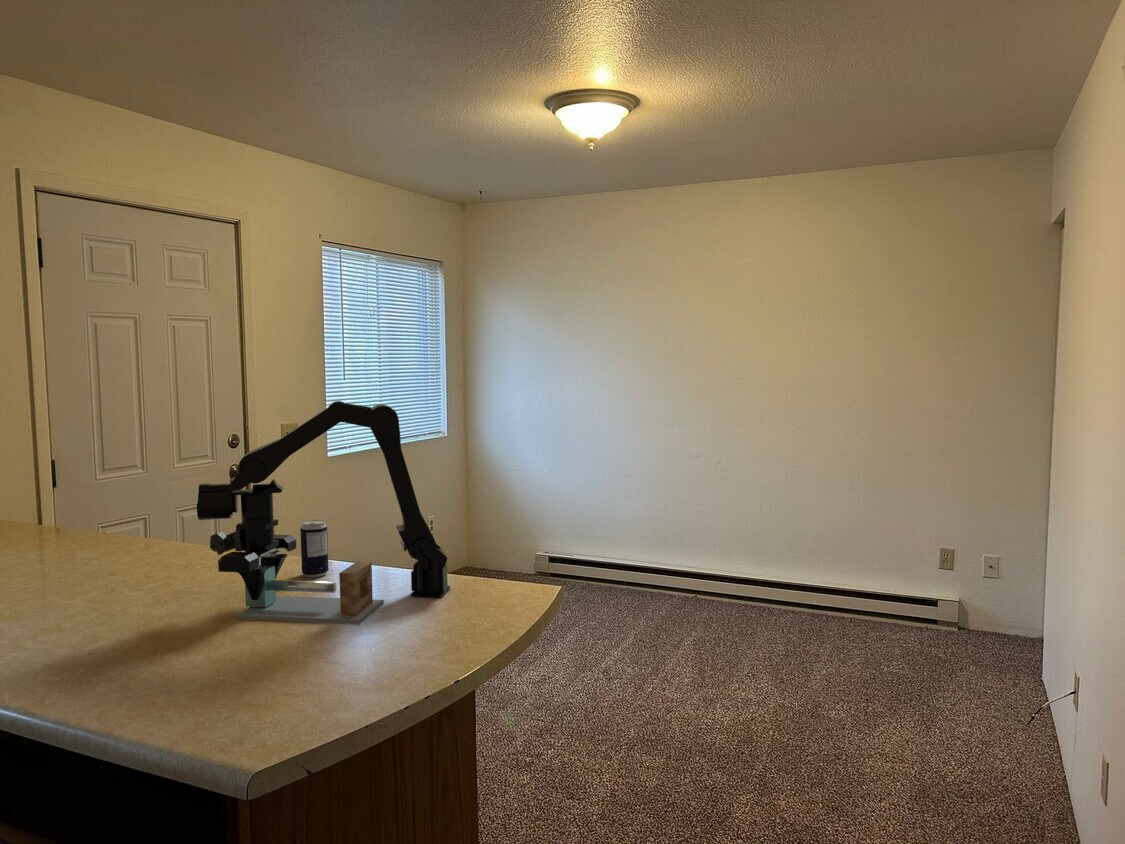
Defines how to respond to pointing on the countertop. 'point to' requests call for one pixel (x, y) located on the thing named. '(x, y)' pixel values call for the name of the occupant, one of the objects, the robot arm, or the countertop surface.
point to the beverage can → (314, 548)
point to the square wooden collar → (355, 588)
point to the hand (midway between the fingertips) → (260, 596)
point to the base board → (307, 610)
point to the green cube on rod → (284, 588)
